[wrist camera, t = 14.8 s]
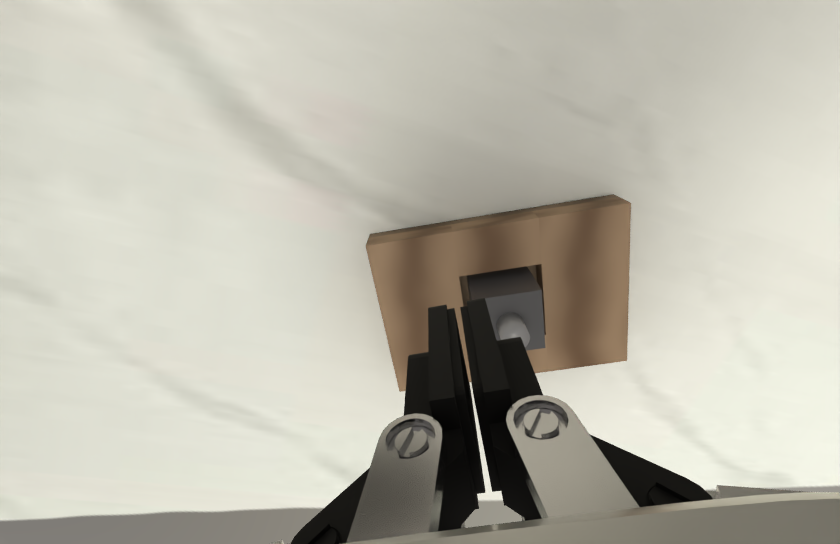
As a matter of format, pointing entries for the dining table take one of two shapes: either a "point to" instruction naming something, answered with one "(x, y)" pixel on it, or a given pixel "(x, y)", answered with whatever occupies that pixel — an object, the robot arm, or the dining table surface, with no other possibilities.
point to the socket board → (505, 249)
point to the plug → (512, 304)
